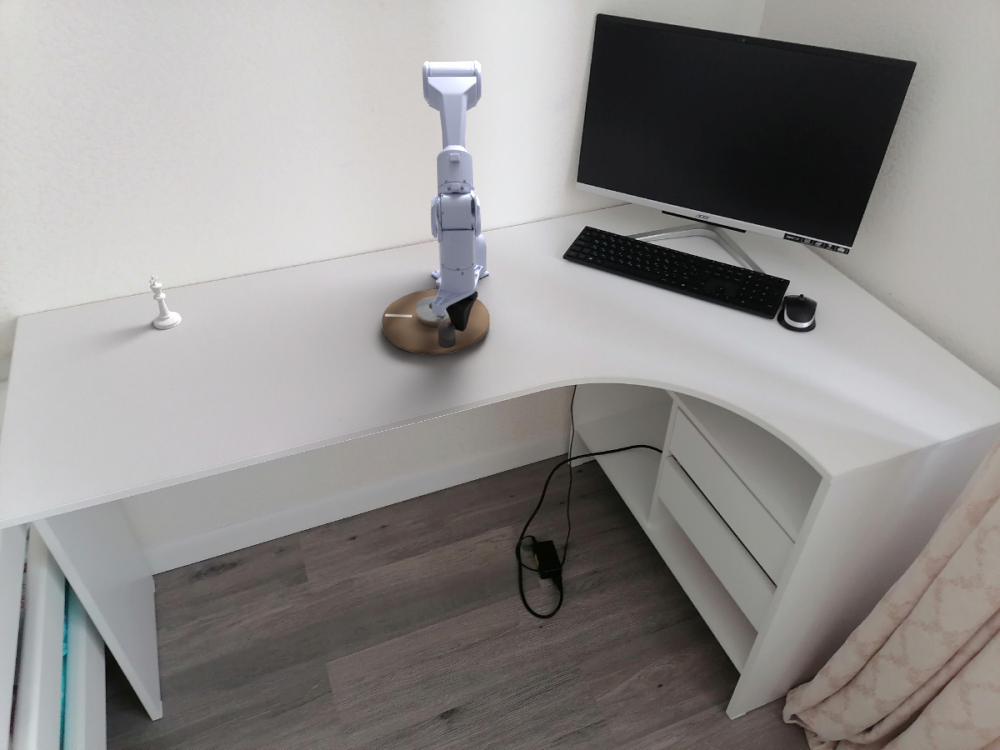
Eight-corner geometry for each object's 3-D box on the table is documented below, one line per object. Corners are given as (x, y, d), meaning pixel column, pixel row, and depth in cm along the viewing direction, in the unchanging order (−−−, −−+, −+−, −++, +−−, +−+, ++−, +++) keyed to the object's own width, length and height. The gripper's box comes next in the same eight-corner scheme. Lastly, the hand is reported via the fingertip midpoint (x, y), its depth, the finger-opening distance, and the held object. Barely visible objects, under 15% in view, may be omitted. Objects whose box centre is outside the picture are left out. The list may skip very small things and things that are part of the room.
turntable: (492, 296, 144) (492, 275, 141) (486, 356, 128) (486, 334, 126) (391, 292, 145) (390, 272, 142) (373, 352, 129) (370, 330, 126)
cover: (456, 308, 138) (456, 296, 137) (452, 328, 133) (451, 317, 131) (420, 306, 139) (419, 294, 137) (414, 327, 133) (413, 315, 132)
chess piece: (147, 325, 137) (131, 279, 131) (166, 312, 140) (151, 266, 134) (168, 331, 135) (153, 285, 129) (187, 317, 139) (173, 272, 133)
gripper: (457, 237, 128) (459, 303, 136) (414, 276, 117) (419, 344, 126) (493, 246, 125) (493, 312, 134) (452, 286, 115) (454, 355, 124)
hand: (459, 328), depth 130 cm, fingers closed
